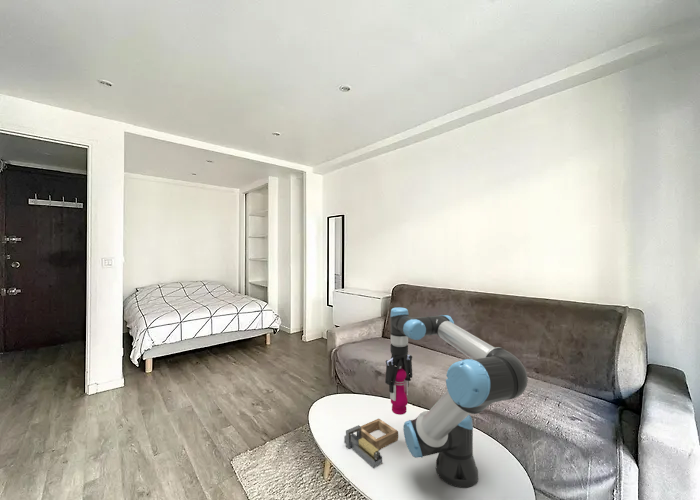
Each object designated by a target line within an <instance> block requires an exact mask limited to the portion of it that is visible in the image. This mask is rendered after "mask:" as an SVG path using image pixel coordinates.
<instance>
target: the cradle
mask: <svg viewBox="0 0 700 500" xmlns="http://www.w3.org/2000/svg"><path fill="white" fill-rule="evenodd" d="M360 426H361V428H362V438H364V439H365V440H367V441H368V442H369V443H370V444H372V445H373V446H374V447H376V448H377V449H378V450H382V449H383V448H386V447H387V446H389V445H392V444H394V443H396V442H397V441H399V431H398V430H397V429H396V428H394V427H393V426H391V425H390V424H389V423H386V422H385V421H383V420H382V419H381V418H377V419H374V420H372V421H370V422H367V423H365V424H362V425H360ZM378 430H379V431H380V432H382V433H384V435H382V436H380V437H375V436H373V435H372V433H374V432H376V431H378Z"/></svg>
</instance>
